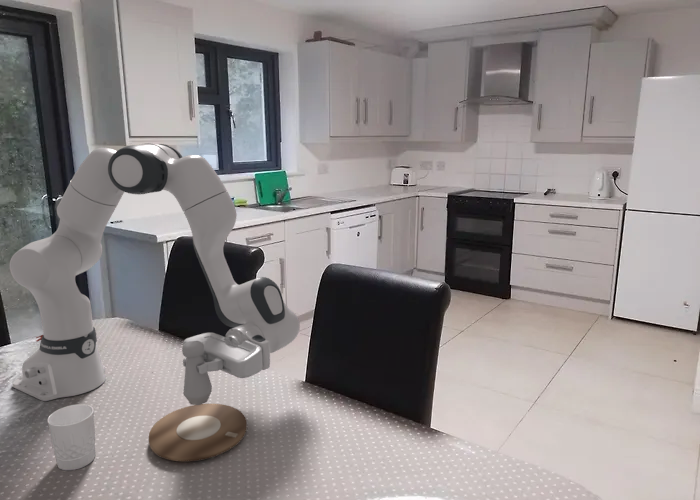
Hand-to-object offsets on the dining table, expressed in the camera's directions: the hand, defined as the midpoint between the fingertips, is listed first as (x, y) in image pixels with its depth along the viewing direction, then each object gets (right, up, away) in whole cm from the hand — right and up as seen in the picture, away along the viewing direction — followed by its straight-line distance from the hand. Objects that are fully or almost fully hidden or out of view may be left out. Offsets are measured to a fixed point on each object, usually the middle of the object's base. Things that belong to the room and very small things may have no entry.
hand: (191, 366), depth 104 cm
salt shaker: (+1, -8, +3) cm, 8 cm away
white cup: (-22, -18, -4) cm, 28 cm away
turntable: (0, -16, +4) cm, 16 cm away
